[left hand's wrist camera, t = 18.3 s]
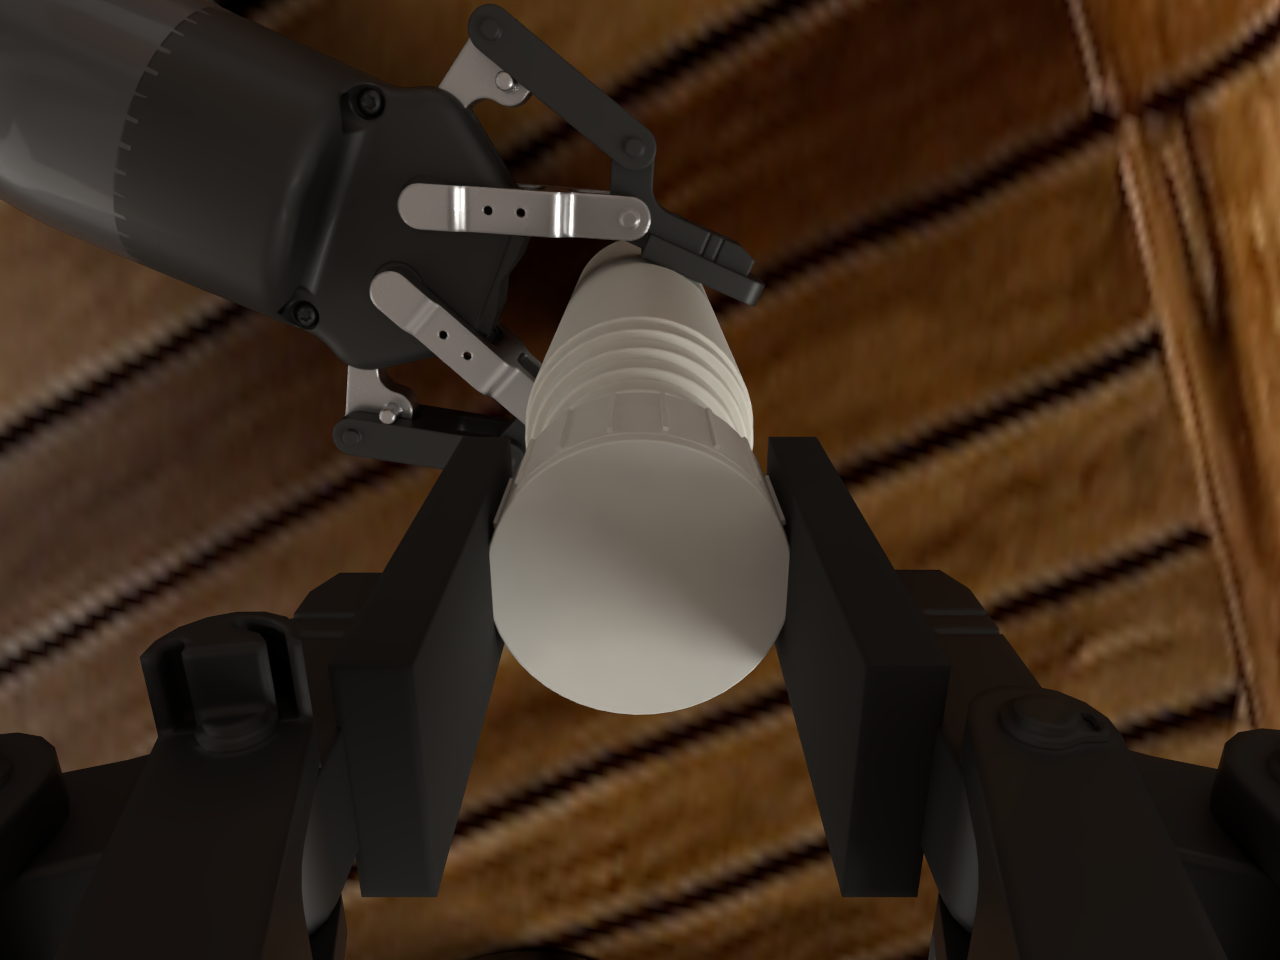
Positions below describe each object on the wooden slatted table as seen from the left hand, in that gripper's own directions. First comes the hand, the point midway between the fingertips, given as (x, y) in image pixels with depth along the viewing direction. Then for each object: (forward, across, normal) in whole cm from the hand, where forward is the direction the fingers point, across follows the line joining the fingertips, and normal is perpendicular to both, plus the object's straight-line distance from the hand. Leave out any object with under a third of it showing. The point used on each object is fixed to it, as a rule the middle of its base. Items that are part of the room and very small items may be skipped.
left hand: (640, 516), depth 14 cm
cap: (-2, 0, 0) cm, 2 cm away
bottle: (+20, 0, 0) cm, 20 cm away
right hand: (+14, -2, +1) cm, 14 cm away
